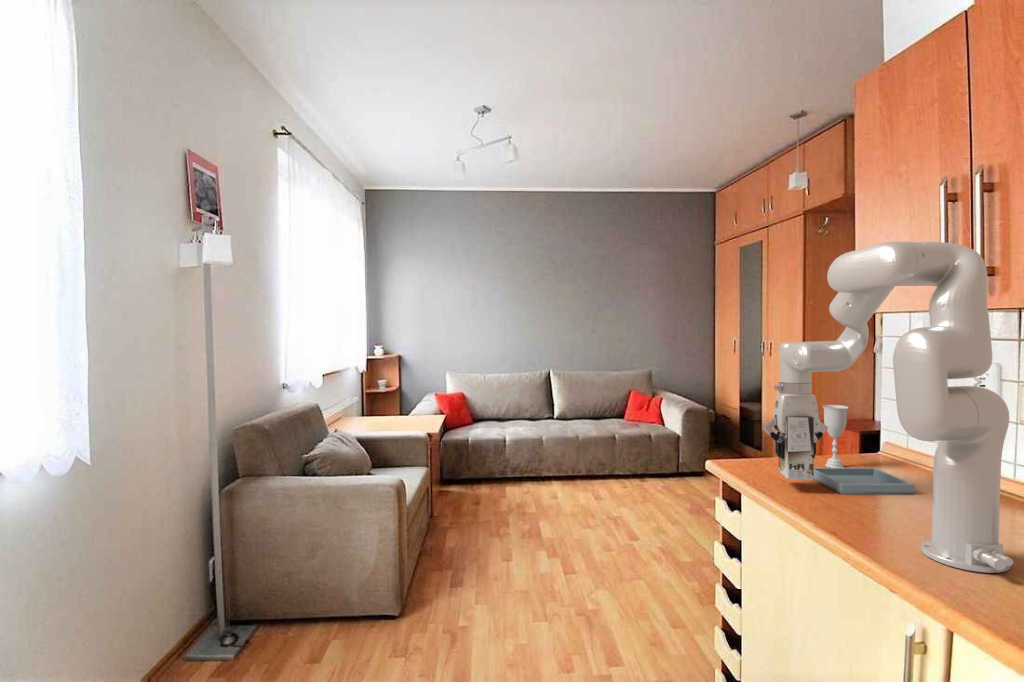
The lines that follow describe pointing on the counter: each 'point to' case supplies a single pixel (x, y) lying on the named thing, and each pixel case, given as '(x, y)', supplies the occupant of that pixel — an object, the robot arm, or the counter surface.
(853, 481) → the tray
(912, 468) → the counter surface
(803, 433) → the coffee box
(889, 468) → the counter surface
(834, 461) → the chalice
